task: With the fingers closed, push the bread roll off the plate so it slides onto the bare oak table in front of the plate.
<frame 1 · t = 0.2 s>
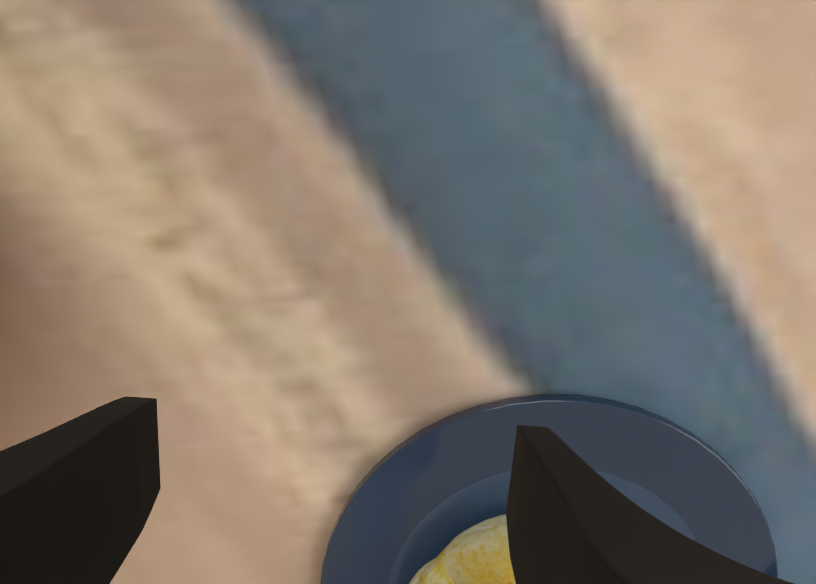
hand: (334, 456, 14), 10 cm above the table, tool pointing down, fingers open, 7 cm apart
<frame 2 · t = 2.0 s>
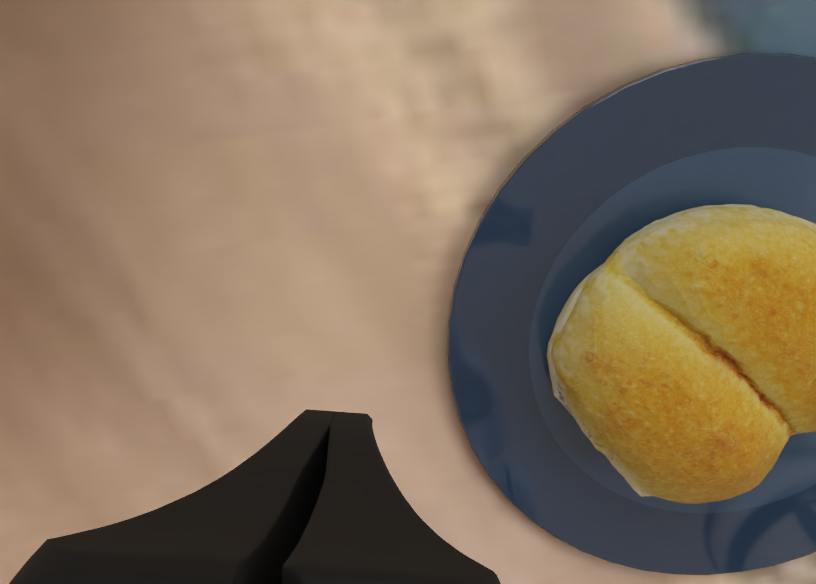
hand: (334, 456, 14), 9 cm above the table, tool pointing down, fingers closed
bread roll: (690, 340, 22), resting on plate
plate: (718, 339, 22), on the table
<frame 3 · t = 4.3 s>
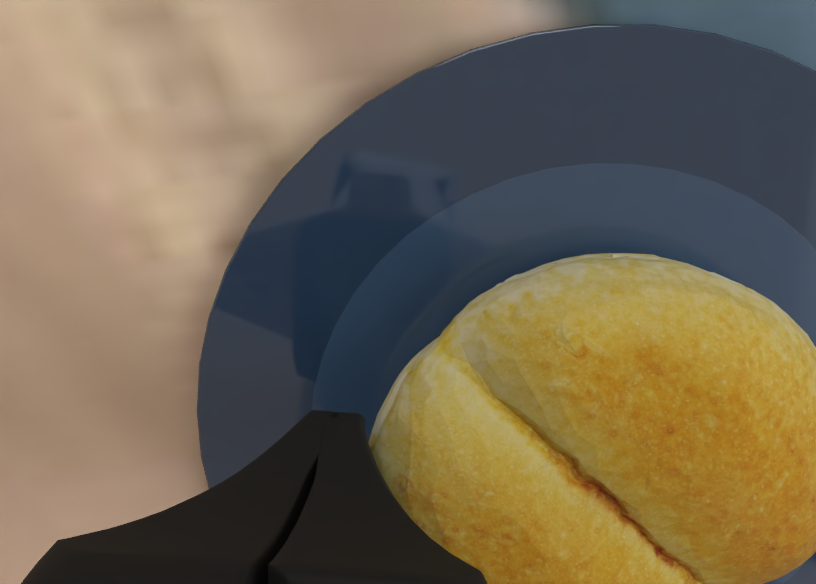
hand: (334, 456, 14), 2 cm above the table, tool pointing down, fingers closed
bread roll: (579, 438, 16), resting on plate, touching gripper
plate: (581, 430, 16), on the table
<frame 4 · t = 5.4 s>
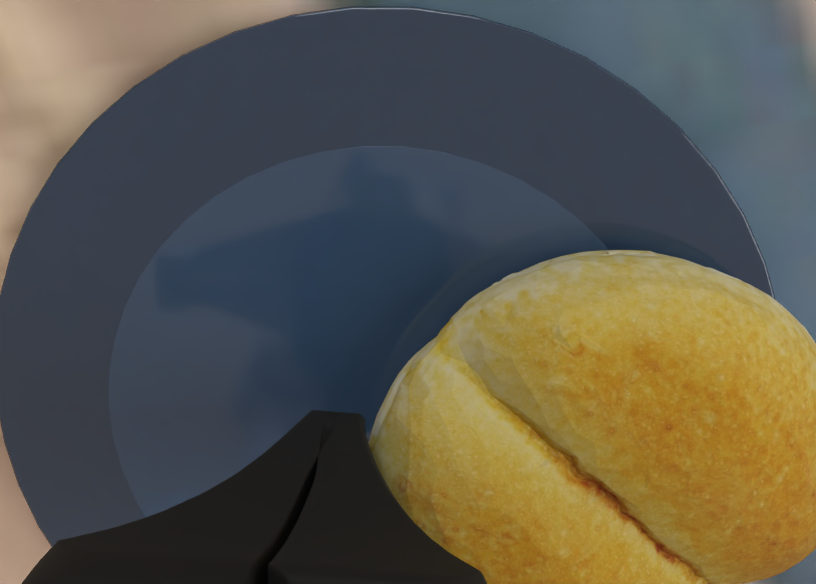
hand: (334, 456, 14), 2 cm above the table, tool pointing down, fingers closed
bread roll: (580, 435, 16), resting on plate, touching gripper
plate: (385, 415, 16), on the table
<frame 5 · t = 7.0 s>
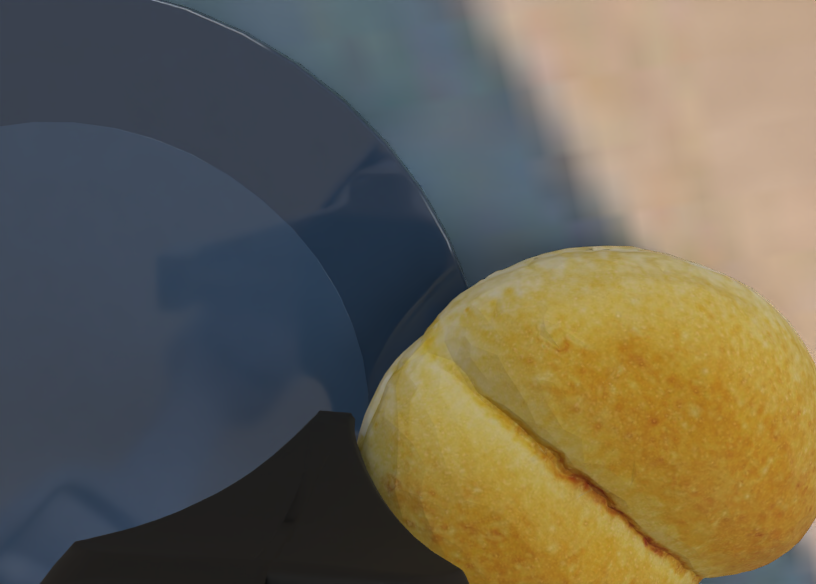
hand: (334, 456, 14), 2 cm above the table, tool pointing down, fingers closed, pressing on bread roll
bread roll: (568, 431, 16), on the table, touching gripper, plate
plate: (103, 394, 16), on the table
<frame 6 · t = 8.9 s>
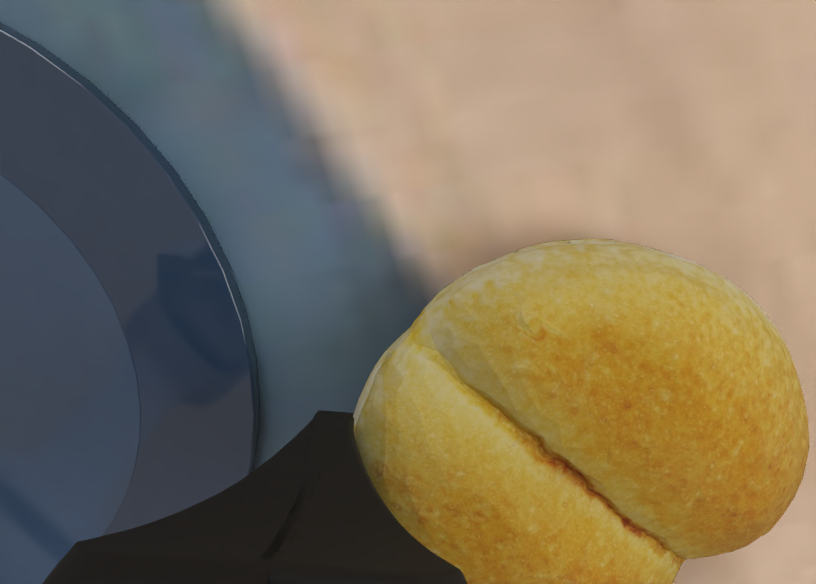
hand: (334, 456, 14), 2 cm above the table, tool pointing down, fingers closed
bread roll: (555, 420, 16), on the table, touching gripper
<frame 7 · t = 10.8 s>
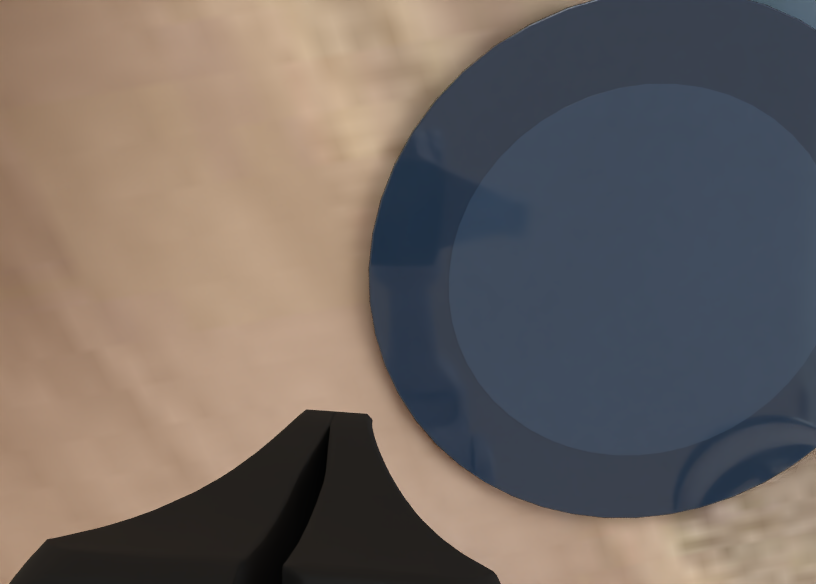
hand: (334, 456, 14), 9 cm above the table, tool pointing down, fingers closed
plate: (637, 280, 23), on the table
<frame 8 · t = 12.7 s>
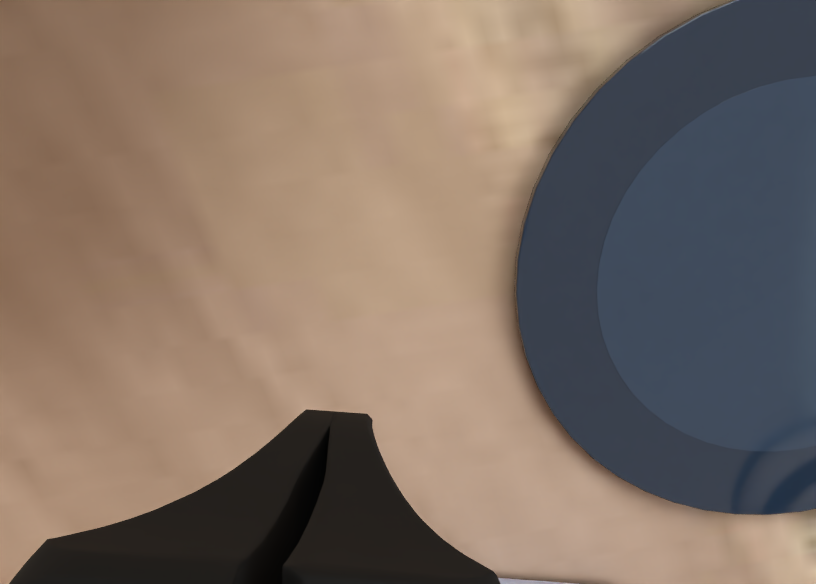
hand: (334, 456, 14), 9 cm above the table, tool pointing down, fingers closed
plate: (785, 274, 22), on the table
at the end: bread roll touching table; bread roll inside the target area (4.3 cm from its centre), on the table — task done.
